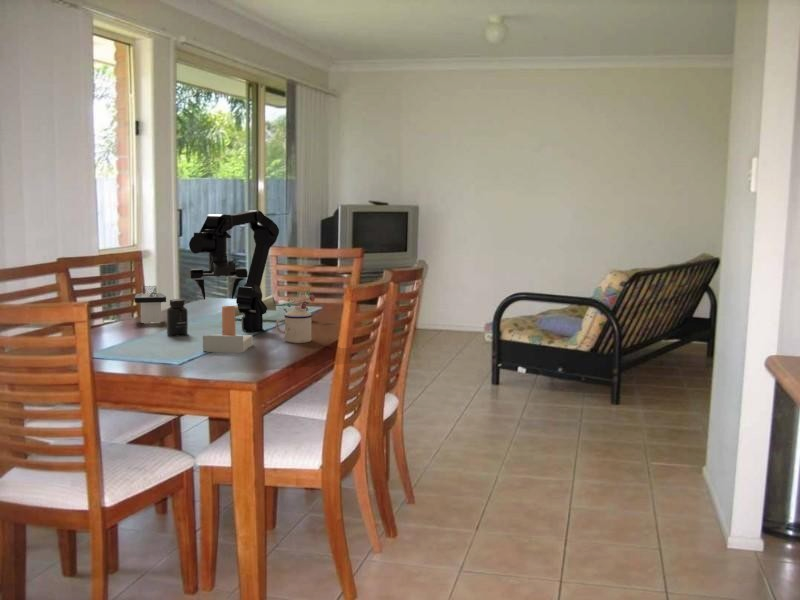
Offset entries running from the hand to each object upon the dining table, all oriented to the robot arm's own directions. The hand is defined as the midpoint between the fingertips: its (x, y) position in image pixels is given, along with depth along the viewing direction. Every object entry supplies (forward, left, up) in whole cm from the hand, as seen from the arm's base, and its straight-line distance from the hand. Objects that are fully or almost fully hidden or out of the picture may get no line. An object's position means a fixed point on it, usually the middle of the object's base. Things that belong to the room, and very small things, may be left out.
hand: (218, 298), depth 270 cm
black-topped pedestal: (+17, -42, -14) cm, 47 cm away
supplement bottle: (+12, -10, -13) cm, 21 cm away
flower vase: (-26, -33, -13) cm, 44 cm away
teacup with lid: (-22, +14, -13) cm, 29 cm away
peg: (0, +19, -13) cm, 23 cm away
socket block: (0, +19, -13) cm, 23 cm away
